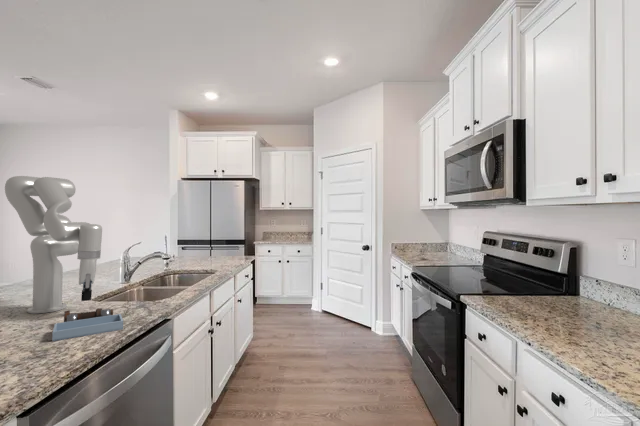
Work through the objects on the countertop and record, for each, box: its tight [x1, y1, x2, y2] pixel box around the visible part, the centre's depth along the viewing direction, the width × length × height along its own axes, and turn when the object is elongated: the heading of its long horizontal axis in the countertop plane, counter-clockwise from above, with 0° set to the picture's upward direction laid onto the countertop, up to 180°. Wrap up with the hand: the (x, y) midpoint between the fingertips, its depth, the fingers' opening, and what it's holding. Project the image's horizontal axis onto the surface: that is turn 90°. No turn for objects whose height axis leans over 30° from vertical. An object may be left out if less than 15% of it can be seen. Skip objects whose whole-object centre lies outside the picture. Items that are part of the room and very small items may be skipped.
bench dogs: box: [67, 308, 111, 322], centre depth 117 cm, size 3×13×4 cm, turn 126°
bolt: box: [63, 307, 114, 322], centre depth 121 cm, size 6×5×15 cm
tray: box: [51, 313, 124, 342], centre depth 111 cm, size 10×19×3 cm, turn 127°
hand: (86, 300), depth 128 cm, fingers closed
